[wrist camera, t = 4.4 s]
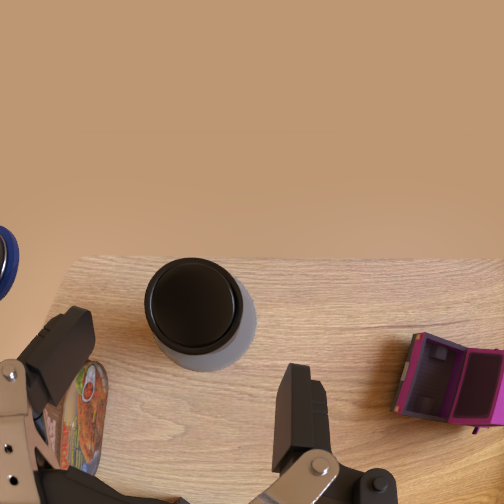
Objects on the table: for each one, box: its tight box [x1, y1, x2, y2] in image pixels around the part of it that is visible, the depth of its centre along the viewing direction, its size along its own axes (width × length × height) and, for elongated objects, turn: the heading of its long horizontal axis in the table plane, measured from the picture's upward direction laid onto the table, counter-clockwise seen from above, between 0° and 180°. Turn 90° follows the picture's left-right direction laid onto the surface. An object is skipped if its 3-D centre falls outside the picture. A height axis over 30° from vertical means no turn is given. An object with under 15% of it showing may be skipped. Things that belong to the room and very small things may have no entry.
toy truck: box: [390, 332, 504, 435], centre depth 24 cm, size 11×16×10 cm
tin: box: [44, 359, 108, 476], centre depth 21 cm, size 15×3×8 cm, turn 170°
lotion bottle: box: [144, 258, 257, 372], centre depth 20 cm, size 6×6×20 cm
